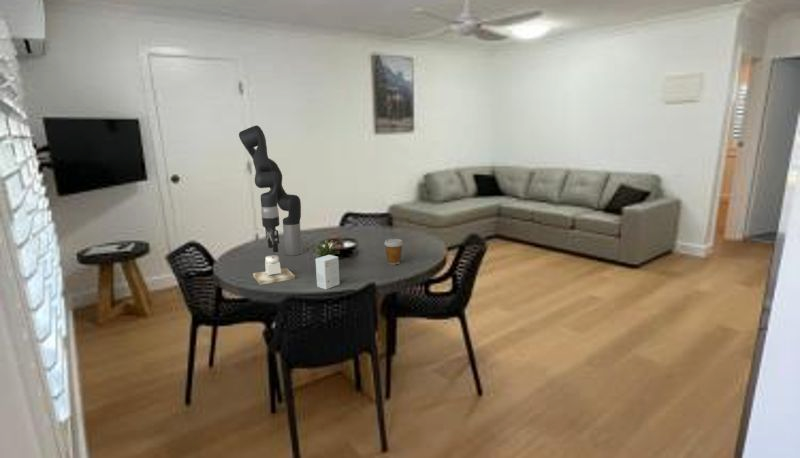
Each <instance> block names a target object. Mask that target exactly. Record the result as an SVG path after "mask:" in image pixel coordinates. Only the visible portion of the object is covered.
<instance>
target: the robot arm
mask: <svg viewBox="0 0 800 458" xmlns="http://www.w3.org/2000/svg"><path fill="white" fill-rule="evenodd" d="M238 137H239V140H240V142H241V143H242V145H243V146H244V148H245V150H246V151H247V152H248V154H249V155H250V157H251V159H252V161H253V166H254V169H255V175H254V184H255V186H256V187H257V188H259V189H266V188H269V189H270V190H268V191H267V192H263V193H261V194H260V205H261V207H260V208H261V210H260V213H261V222H262V224H261V225H262V227H264V229H265V238H266V240H267V247H268V248H269V249H272V252H273V253H278V252H279V244H280V236H279V231H278V230H277V228H276V227H278V226H280V216H279V209H280V210H282V211H284V212H288V215H287V216H286V217H283V219H282V228H283V229H282V230H283V231H282V232H283V243H284V244H283V246H284V254H285V255H286V256H297V255H298V256H299V255H301V254H303V253H304V247H303V237H302V235H301V232H302V231H301V219H302V218H301V217H302V203H301V199H300V196H299V195H297V194H289V193H287V192H286V190H285V189H284V187H283V173H282V171H281V168H279V166H278V164H277V163H276V161H274V160H273V159H271V158H269V156H268V148H267V141H266V140H267V139H266V136H265V134H264V131H263V129H262V128H261V127H260V126H259V125H254V126H251V127H248V128H245V129H243V130H241V131H239V132H238Z"/></svg>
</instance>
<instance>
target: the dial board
mask: <svg viewBox="0 0 800 458" xmlns="http://www.w3.org/2000/svg"><path fill="white" fill-rule="evenodd" d="M280 269H281V273H278V274H272V275H268V274H267V273H266V270H265V271H260V272H259V271H257V272H253V273H252V276H253V278H254V279H255V281H257V283H258V285H260V286H261V285H266V284H267V285H268V284H273V283H274V284H275V283H278V282H283V281H284V282H285V281H289V280H295V279H296V275H294V274H293V273H292V271H290V269H288V268H287V267H283V268H280Z"/></svg>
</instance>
